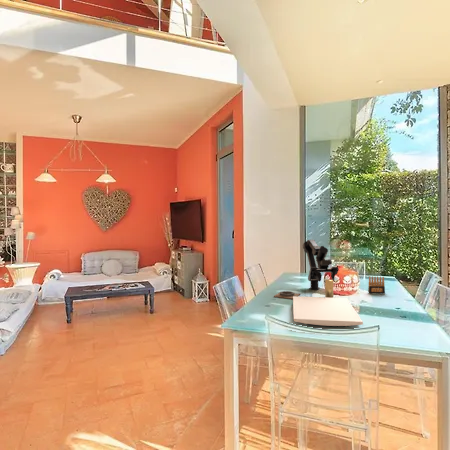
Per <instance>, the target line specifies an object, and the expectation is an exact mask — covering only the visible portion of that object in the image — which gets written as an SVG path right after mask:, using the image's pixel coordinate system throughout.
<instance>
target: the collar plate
mask: <svg viewBox="0 0 450 450" xmlns="http://www.w3.org/2000/svg"><path fill="white" fill-rule="evenodd" d="M300 295H301V293H296V292H294V291H290V290H283V291H280V292H278V293H276V294H275V295H273V298H276V297H278V298H279V299H284V300H285V299H287V300H293V296H297V297H300Z"/></svg>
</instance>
